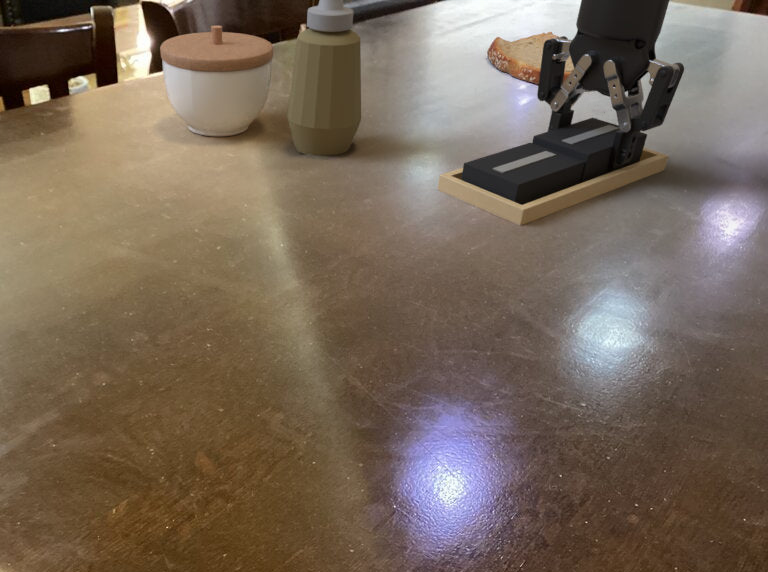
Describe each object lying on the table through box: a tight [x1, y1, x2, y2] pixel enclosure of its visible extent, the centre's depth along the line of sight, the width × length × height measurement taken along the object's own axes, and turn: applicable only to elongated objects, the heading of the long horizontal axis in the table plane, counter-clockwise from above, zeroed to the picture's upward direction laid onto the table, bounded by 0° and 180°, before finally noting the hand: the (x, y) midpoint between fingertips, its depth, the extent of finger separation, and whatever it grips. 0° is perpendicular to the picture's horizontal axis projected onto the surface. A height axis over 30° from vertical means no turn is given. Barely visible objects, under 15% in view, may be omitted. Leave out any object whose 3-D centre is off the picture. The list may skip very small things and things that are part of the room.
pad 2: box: [531, 117, 648, 183], centre depth 83 cm, size 10×6×3 cm, turn 127°
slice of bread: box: [486, 31, 574, 86], centre depth 117 cm, size 18×18×4 cm
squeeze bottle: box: [286, 0, 362, 157], centre depth 85 cm, size 8×8×18 cm
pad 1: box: [461, 142, 585, 205], centre depth 79 cm, size 10×6×3 cm, turn 127°
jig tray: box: [437, 147, 670, 226], centre depth 82 cm, size 24×10×2 cm, turn 127°
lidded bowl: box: [159, 25, 274, 137], centre depth 93 cm, size 13×13×11 cm
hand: (585, 155), depth 84 cm, fingers closed on pad 2, 6 cm apart
